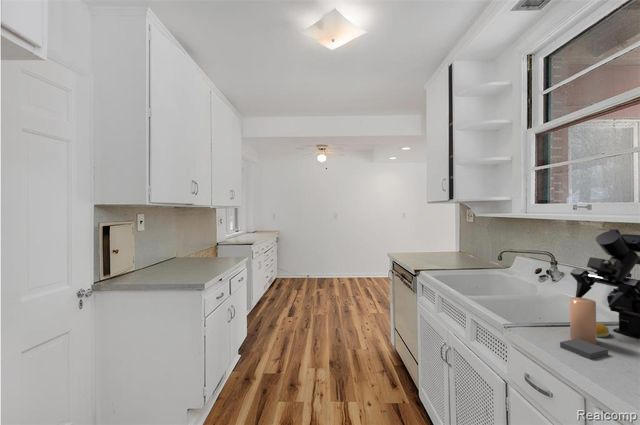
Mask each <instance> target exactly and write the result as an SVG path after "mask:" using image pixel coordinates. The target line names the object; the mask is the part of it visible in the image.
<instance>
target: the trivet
mask: <svg viewBox="0 0 640 425" xmlns="http://www.w3.org/2000/svg"><path fill="white" fill-rule="evenodd" d="M559 347H560V348H562V349H564V350H566V351H568V352H571V353H573V354H576V355H579V356H581V357H583V358H586V359H588V360H593V359H596V358H600V357H605V356H608V355H609V349H608V348H606V347H603V346H600V345H597V344H592V343H589V342H586V341H584V340H581V339H578V338H576V339H567V340H564V341H560V342H559Z"/></svg>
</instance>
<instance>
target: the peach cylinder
mask: <svg viewBox="0 0 640 425" xmlns="http://www.w3.org/2000/svg"><path fill="white" fill-rule="evenodd" d="M569 320H570V321H569V325H570V326H569V328H570V330H569V332H570V334H569V335H570V340H572V339H576V338H578V339H581V340H584V341H586V342H589V343H592V344H595V345H597V337H596V322H597V302H596V301H595V300H593V299H590V298H585V297H581V298H578V297H576V296H575V297H570V298H569Z"/></svg>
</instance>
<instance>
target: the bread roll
mask: <svg viewBox="0 0 640 425" xmlns="http://www.w3.org/2000/svg"><path fill="white" fill-rule="evenodd" d="M609 335H610V330H609V328H608V327H607V326H606V325H605V324H603V323H599V322H597V321H596V338H604V337H606V338H607V337H609Z"/></svg>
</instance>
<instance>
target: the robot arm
mask: <svg viewBox="0 0 640 425" xmlns="http://www.w3.org/2000/svg"><path fill="white" fill-rule="evenodd" d="M595 242H596V244H597V245H599V246H600V248H601V249H602V250H603V252H604V253H605V254H607V255H608V256H610V258H609V259H605V258H599V257H591V256H590V257H589V259H588V261H587V265H586V267H587V268H590V269H592V270H593V271H592V272H593V273H594V274H596V275H592V274H591V273H590V272H589V271H588V270H587V269H581V268H573V269H572V270H571V271H570V272H569V274H570V275H571V276H572V277H573V279H574V280H575V281H576V290H575V291H576V293H575V297H578V298H584V296H586V294H587V293H588V292H590V290H591V289H592V288H593V287H592V286H594V285H595V283H596V284H600V285H601V284H602V285H606V286H609V287H613V288H612V291H610V292H609V293H608V295H607V297H606V299H607V303H608V308H609V310H610V311H611V312H614V313H618V327H615V328H613V329H612V331H613V332H616V333H620V334H622V335H625V336H629V337H632V338H635V339H640V279H636V278H631V277H632V276H633V275H632V273H631V272H632V271H633V269H634V268H635V266H636V265H639V266H640V255H639V254H637V253H640V234H633V233H622V234H621V232H620V231H619V229H612V228H611V229H609V230H607V231H605V232H602V233H600V234H599V235H596V238H595ZM614 287H615V288H614Z"/></svg>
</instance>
